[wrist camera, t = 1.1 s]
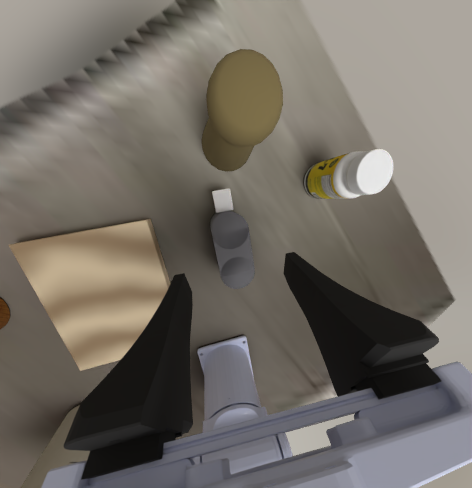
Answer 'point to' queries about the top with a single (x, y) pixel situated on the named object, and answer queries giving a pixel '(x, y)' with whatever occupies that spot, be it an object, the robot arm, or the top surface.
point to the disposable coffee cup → (4, 313)
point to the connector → (231, 242)
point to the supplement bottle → (350, 175)
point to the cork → (240, 108)
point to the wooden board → (97, 286)
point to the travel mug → (55, 454)
